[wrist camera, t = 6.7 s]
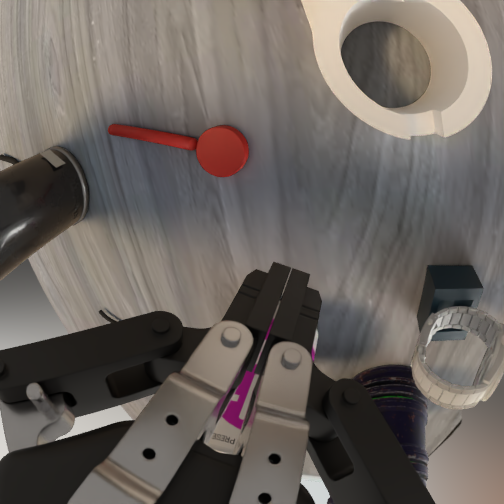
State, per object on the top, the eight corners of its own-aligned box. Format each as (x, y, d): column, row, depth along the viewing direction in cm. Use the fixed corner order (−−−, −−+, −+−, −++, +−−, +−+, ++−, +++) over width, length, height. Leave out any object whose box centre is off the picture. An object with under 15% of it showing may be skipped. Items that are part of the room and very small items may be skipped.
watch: (474, 315, 22) (501, 413, 13) (399, 316, 24) (405, 424, 15) (490, 264, 19) (537, 364, 10) (408, 264, 21) (428, 377, 13)
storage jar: (441, 374, 26) (445, 524, 12) (397, 414, 32) (384, 537, 17) (369, 355, 28) (349, 528, 13) (332, 399, 33) (302, 532, 18)
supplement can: (244, 283, 27) (169, 427, 15) (331, 310, 26) (300, 470, 14) (233, 338, 32) (176, 458, 20) (305, 361, 31) (270, 490, 18)
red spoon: (112, 147, 24) (105, 150, 23) (114, 107, 22) (106, 109, 21) (244, 179, 22) (239, 183, 21) (253, 131, 20) (249, 133, 19)
